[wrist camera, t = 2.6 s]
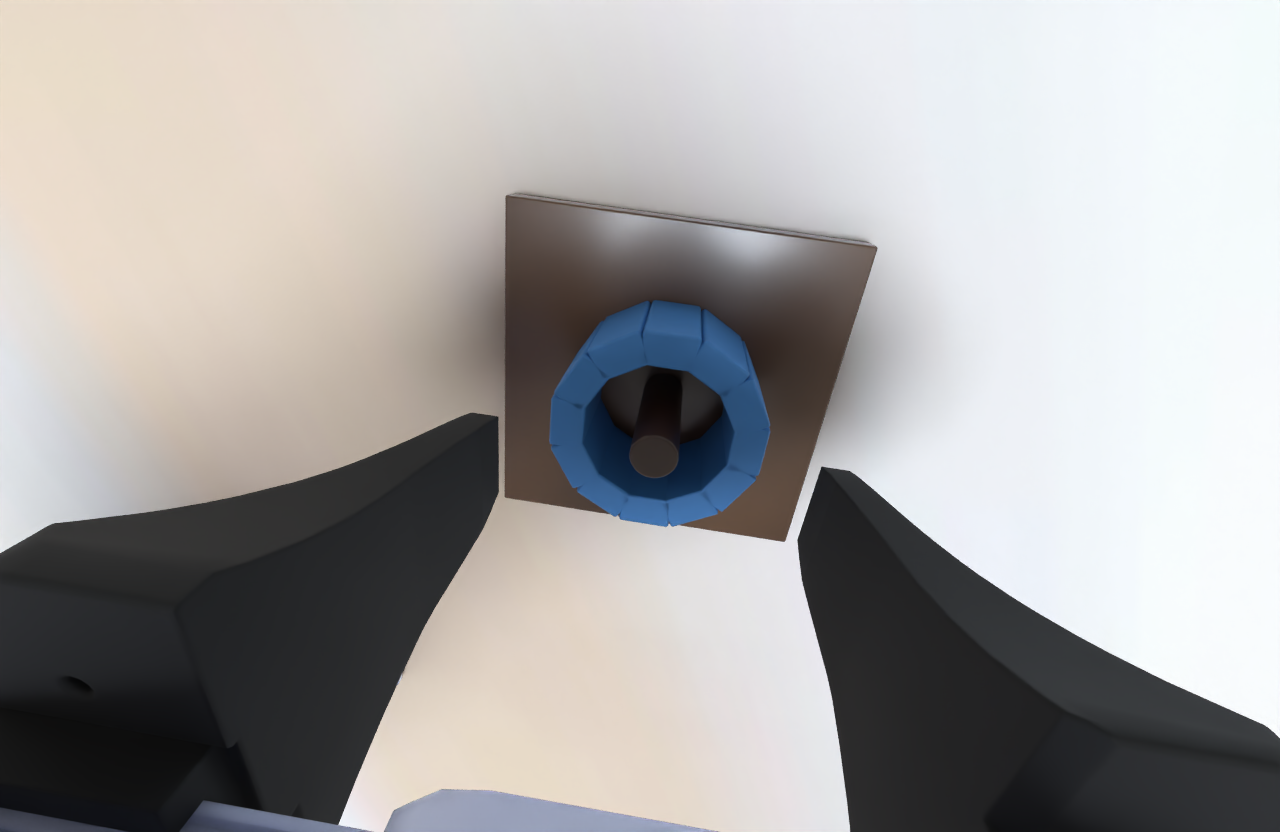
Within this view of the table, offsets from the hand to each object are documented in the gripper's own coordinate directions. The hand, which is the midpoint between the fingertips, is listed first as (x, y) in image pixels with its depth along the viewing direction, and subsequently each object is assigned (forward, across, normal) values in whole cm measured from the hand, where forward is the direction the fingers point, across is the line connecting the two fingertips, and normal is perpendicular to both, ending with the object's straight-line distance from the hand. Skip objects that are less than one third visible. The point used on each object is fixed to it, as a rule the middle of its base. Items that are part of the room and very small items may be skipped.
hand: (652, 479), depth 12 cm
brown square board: (+6, 0, 0) cm, 6 cm away
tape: (+5, 0, 0) cm, 5 cm away
